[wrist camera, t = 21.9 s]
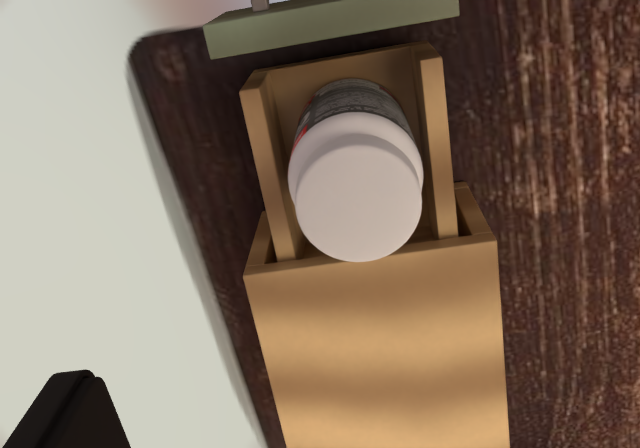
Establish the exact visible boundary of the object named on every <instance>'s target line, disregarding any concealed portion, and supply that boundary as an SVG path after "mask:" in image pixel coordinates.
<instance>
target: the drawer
mask: <svg viewBox="0 0 640 448" xmlns="http://www.w3.org/2000/svg"><path fill="white" fill-rule="evenodd" d="M251 4H252V7H250V8H245V9H239V10H234V11H228V12H225V13H224V14H222V15H220V16H218V17H217V18H215V19H213V20H212V21H210V22H208V23H206V24H205V25H203V31H204V35H205V39H206V43H207V47H208V51H209V56H210V59H218V58H223V57H229V56H235V55H240V54H246V53H252V52H257V51H263V50H269V49H275V48H280V47H286V46H292V45H297V44H303V43H309V42H314V41H320V40H326V39H331V38H337V37H343V36H348V35H354V34H360V33H366V32H371V31H377V30H383V29H388V28H394V27H400V26H405V25H411V24H417V23H422V22H428V21H434V20H439V19H445V18H451V17H457V16H459V15H460V12H459V0H288V1H283V2H277V3H272V4H269V0H251ZM351 78H355V79H363V80H368V81H371V82H374V83H377V84H379V85H380V86H382V87H384V88H385V89H387V90H388V91H389V92H390V93H391V94H392V95H393V96H394V97H395V98H396V99H397V101H398V102H399V104H400V105H401V107H402V109H403V111H404V113H405V116H406V118H407V121H408V124H409V127H410V130H411V132H412V135H413V138H414V140H415V143H416V145H417V148H418V150H419V153H420V157H421V161H422V167H423V186H422V192H421V196H422V210H421V216H420V219H419V222H418V224H417V226H416V229H415V230H414V232H413V234H412V235H411V236H410V238H409V239H408V240H407V242H406V243H404V244H403V245H406V244H413V243H420V242H427V241H434V240H442V239H449V238H456V237H458V227H457V216H456V205H455V194H454V183H453V172H452V161H451V150H450V139H449V127H448V116H447V105H446V94H445V83H444V72H443V61H442V57H441V56H440V54H439V53H438V52H437V51H436V50H435V49H434V48H433V47H432V46H431V44H430V43H429V42H428V41H427V40H424V41H418V42H412V43H407V44H401V45H395V46H389V47H383V48H378V49H372V50H366V51H360V52H355V53H349V54H343V55H337V56H331V57H326V58H320V59H314V60H308V61H302V62H297V63H291V64H285V65H279V66H274V67H268V68H262V69H256V70H254V71H253V72H252V74H251V75H250V77H249V78H248V80H247V81H246V83H245V84H244V85H243V87H242V88H241V90H240V91H239V95H240V99H241V104H242V108H243V112H244V117H245V121H246V126H247V130H248V134H249V139H250V143H251V147H252V152H253V156H254V161H255V165H256V169H257V174H258V178H259V183H260V187H261V191H262V196H263V200H264V204H265V209H266V213H267V218H268V222H269V226H270V231H271V235H272V239H273V244H274V248H275V253H276V257H277V261H278V262H285V261H292V260H299V259H306V258H313V257H320V256H327V254H325V253H323V252H322V251H320V250H319V249H317V248H316V247H315V246H314V245H313V244H312V243H311V242H310V241H309V240H308V239H307V237H306V236H305V235H304V233H303V231H302V230H301V227H300V225H299V223H298V220H297V216H296V210H295V205H294V203H293V200H292V197H291V194H290V190H289V184H288V168H289V162H290V157H291V153H292V149H293V145H294V140H295V136H296V131H297V127H298V121H299V118H300V115H301V113H302V110H303V108H304V107H305V105H306V103H307V102H308V100H309V99H310V98H311V97H312V96H313V95H314V94H315V93H316V92H317V91H318V90H320V89H321V88H322V87H324V86H326V85H327V84H329V83H332V82H334V81H338V80H342V79H351Z"/></svg>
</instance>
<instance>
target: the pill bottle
mask: <svg viewBox="0 0 640 448" xmlns="http://www.w3.org/2000/svg"><path fill="white" fill-rule="evenodd" d="M288 184H289V190H290V194H291V197H292V200H293V203H294V205H295V210H296V216H297V220H298V223H299V225H300V227H301V230H302V231H303V233H304V235H305V236H306V237H307V239H308V240H309V241H310V242H311V243H312V244H313V245H314V246H315V247H316V248H317V249H319V250H320V251H322V252H323V253H325V254H327V255H329V256H331V257H333V258H336V259H339V260H343V261H349V262H367V261H373V260H377V259H380V258H383V257H385V256H387V255H389V254H391V253H393V252H394V251H396V250H397V249H399V248H400V247H401V246H402V245H403V244H404V243H406V242H407V240H408V239H409V238H410V236H411V235H412V234H413V232H414V230H415V229H416V226H417V224H418V222H419V219H420V216H421V210H422V196H421V192H422V186H423V167H422V161H421V157H420V153H419V150H418V148H417V145H416V143H415V140H414V138H413V135H412V132H411V130H410V127H409V124H408V121H407V118H406V116H405V113H404V111H403V109H402V107H401V105H400V104H399V102H398V101H397V99H396V98H395V97H394V96H393V95H392V94H391V93H390V92H389V91H388V90H387V89H385V88H384V87H382V86H380V85H379V84H377V83H374V82H371V81H368V80H363V79H355V78H351V79H342V80H338V81H334V82H332V83H329V84H327V85H326V86H324V87H322V88H321V89H320V90H318V91H317V92H316V93H315V94H314V95H313V96H312V97H311V98H310V99H309V100H308V102H307V103H306V105H305V107H304V108H303V110H302V113H301V115H300V118H299V121H298V127H297V131H296V136H295V140H294V145H293V149H292V153H291V157H290V162H289V168H288Z"/></svg>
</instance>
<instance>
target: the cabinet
mask: <svg viewBox="0 0 640 448" xmlns="http://www.w3.org/2000/svg"><path fill="white" fill-rule="evenodd" d="M454 194H455V205H456V216H457V227H458V237H456V238H449V239H442V240H434V241H427V242H420V243H413V244H406V245H402V246H401V247H400V248H399V249H397V250H396V251H394V252H393V253H391V254H389V255H387V256H385V257H383V258H380V259H377V260H373V261H367V262H349V261H343V260H339V259H336V258H333V257H331V256H329V255H327V256H320V257H313V258H306V259H299V260H292V261H285V262H278V261H277V257H276V253H275V248H274V244H273V239H272V235H271V231H270V226H269V222H268V218H267V213H266V211H263V212H262V213H261V217H260V220H259V223H258V227H257V230H256V233H255V237H254V240H253V243H252V247H251V250H250V253H249V257H248V260H247V263H246V267H245V270H244V274H243V279H244V283H245V287H246V291H247V295H248V299H249V303H250V307H251V310H252V314H253V318H254V322H255V326H256V330H257V334H258V338H259V342H260V345H261V349H262V353H263V357H264V361H265V365H266V369H267V373H268V376H269V380H270V384H271V388H272V392H273V396H274V400H275V404H276V408H277V411H278V415H279V419H280V423H281V427H282V431H283V435H284V439H285V443H286V446H287V448H510V443H509V427H508V411H507V395H506V379H505V363H504V347H503V331H502V315H501V299H500V283H499V267H498V251H497V241H496V239H495V237H494V235H493V233H492V231H491V230H490V228H489V226H488V224H487V222H486V220H485V218H484V216H483V214H482V212H481V210H480V209H479V207H478V205H477V203H476V201H475V199H474V197H473V195H472V193H471V191H470V189H469V187H468V185H467V183H466V182H465V181H463V182H456V183H454Z"/></svg>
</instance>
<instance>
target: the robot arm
mask: <svg viewBox="0 0 640 448" xmlns="http://www.w3.org/2000/svg"><path fill="white" fill-rule="evenodd" d="M3 448H131V447H130V444H129V442H128V440H127V437H126V434H125V432H124V429H123V427H122V425H121V422H120V419H119V417H118V414H117V412H116V409H115V407H114V404H113V402H112V400H111V397H110V395H109V392H108V390H107V387H106V385H105V382H104V381H103V379H102V378H100V377H95V376H94V374H93V373H92V372H91V371H90V370H79V371H70V372H61V373H56V374H53V375H52V376H51V377H50V378H49V380H48V381H47V383H46V384H45V386H44V387H43V389H42V390H41V392H40V393H39V394H38V396H37V397H36V399H35V400H34V402H33V403H32V405H31V406H30V408H29V409H28V411H27V412H26V414H25V415H24V417H23V418H22V419H21V421H20V422H19V424H18V425H17V427H16V428H15V430H14V431H13V433H12V434H11V436H10V437H9V439H8V440H7V442H6V443H5V445H4V446H3Z"/></svg>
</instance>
